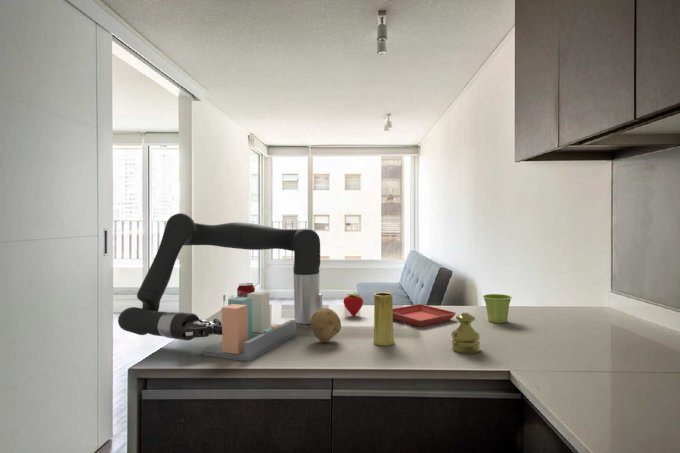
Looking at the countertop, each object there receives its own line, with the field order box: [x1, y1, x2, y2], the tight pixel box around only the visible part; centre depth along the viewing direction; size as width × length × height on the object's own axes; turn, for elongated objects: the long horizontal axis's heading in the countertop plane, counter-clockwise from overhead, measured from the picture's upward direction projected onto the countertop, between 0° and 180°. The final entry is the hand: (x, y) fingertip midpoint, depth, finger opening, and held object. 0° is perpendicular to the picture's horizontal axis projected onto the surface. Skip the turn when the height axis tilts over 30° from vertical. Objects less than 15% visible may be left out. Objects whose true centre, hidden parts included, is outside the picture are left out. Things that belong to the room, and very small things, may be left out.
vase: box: [373, 292, 395, 347], centre depth 117 cm, size 6×6×14 cm
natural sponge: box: [309, 307, 342, 343], centre depth 120 cm, size 9×9×10 cm
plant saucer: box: [393, 303, 457, 328], centre depth 144 cm, size 18×18×3 cm
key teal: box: [227, 296, 252, 339], centre depth 120 cm, size 5×4×12 cm
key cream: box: [248, 291, 271, 333], centre depth 128 cm, size 5×4×12 cm
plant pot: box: [482, 293, 513, 324], centre depth 139 cm, size 9×9×9 cm
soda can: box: [236, 282, 256, 297], centre depth 157 cm, size 7×7×12 cm
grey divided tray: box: [202, 319, 296, 362], centre depth 118 cm, size 15×25×6 cm, turn 158°
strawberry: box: [342, 290, 364, 317], centre depth 152 cm, size 6×8×10 cm
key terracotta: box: [221, 304, 248, 354], centre depth 109 cm, size 5×4×12 cm
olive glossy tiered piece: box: [451, 312, 481, 355], centre depth 110 cm, size 7×7×10 cm
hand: (227, 330), depth 110 cm, fingers closed
